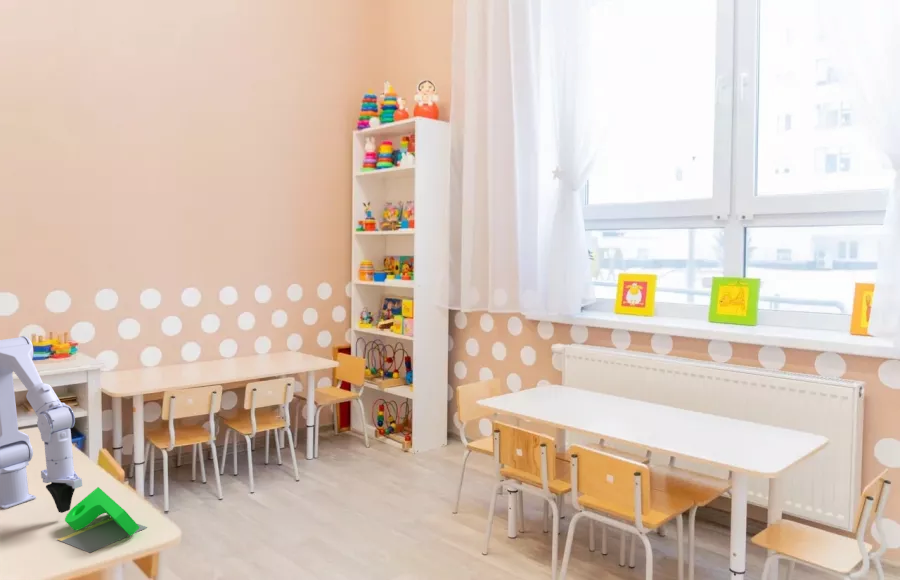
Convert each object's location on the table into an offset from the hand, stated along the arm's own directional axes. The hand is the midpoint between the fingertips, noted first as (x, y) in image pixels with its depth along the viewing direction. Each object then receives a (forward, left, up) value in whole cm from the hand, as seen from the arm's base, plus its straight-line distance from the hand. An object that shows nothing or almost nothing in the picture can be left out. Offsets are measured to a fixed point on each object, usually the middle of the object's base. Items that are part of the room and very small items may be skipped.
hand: (64, 510), depth 168 cm
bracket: (+15, 0, -2) cm, 15 cm away
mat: (+16, 0, -2) cm, 16 cm away
